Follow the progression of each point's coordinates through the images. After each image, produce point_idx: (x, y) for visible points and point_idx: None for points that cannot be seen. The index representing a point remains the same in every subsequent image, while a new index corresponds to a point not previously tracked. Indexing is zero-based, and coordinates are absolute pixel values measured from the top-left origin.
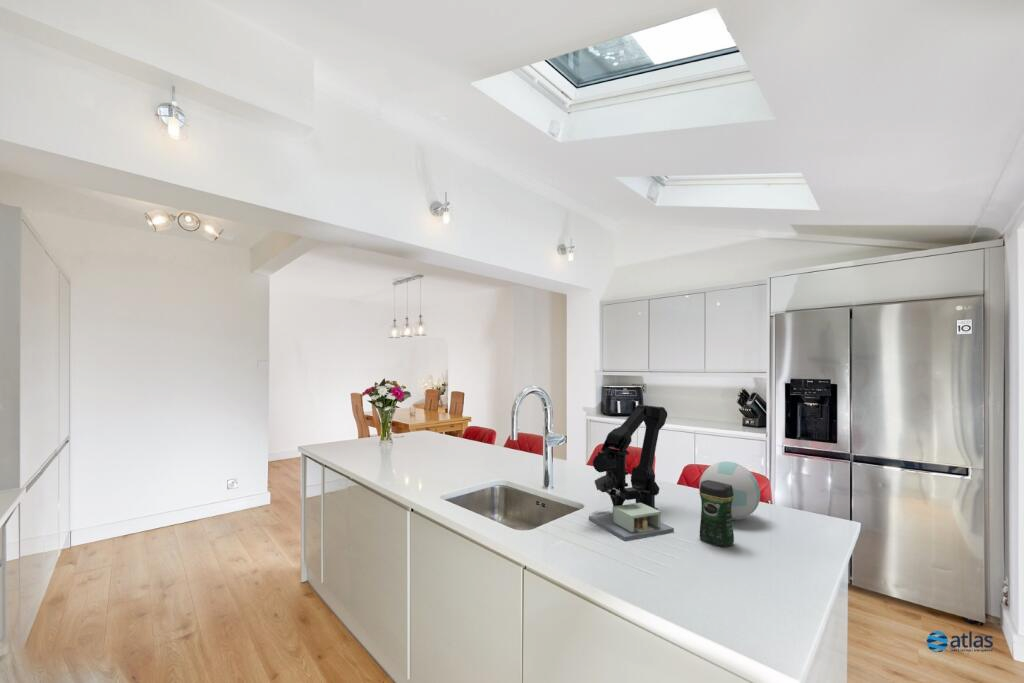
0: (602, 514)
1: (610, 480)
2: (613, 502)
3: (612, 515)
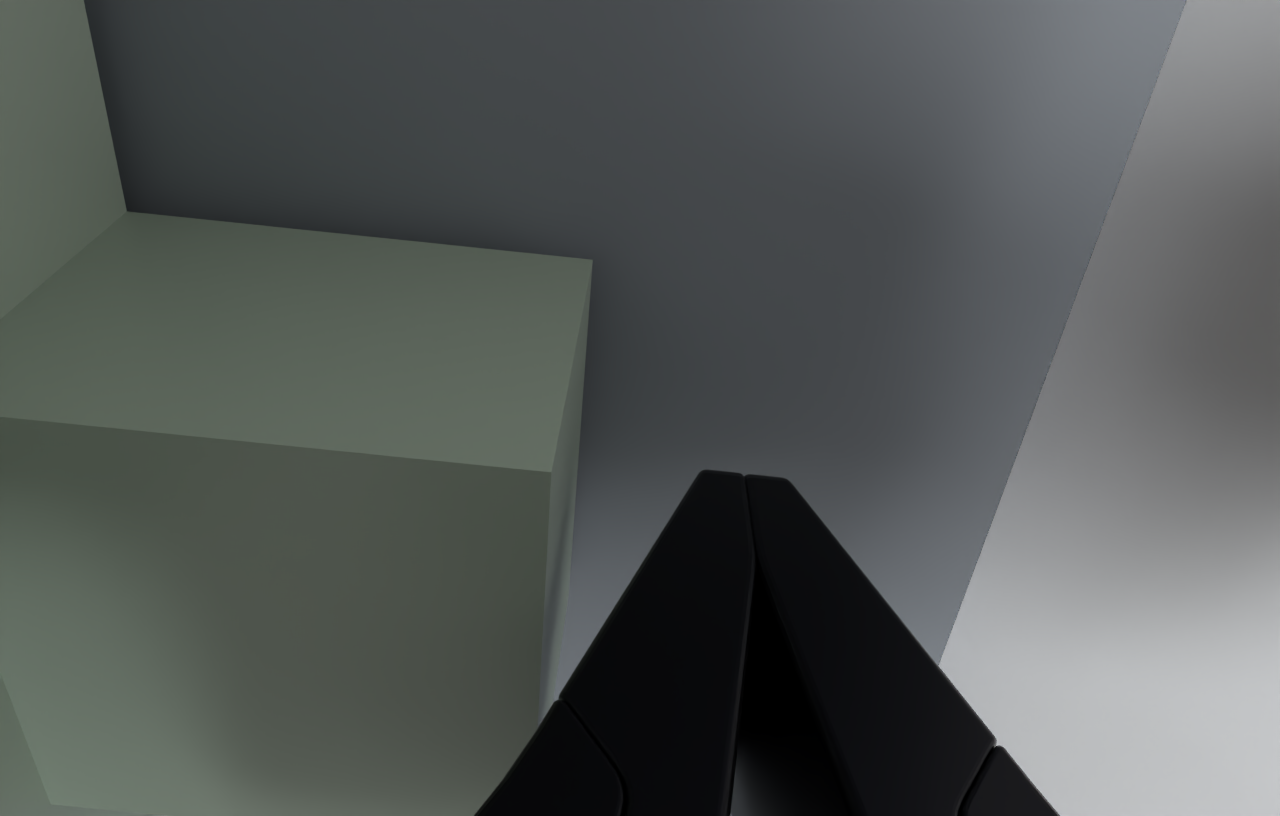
0: (1131, 1)
1: None
2: (873, 747)
3: (789, 297)
